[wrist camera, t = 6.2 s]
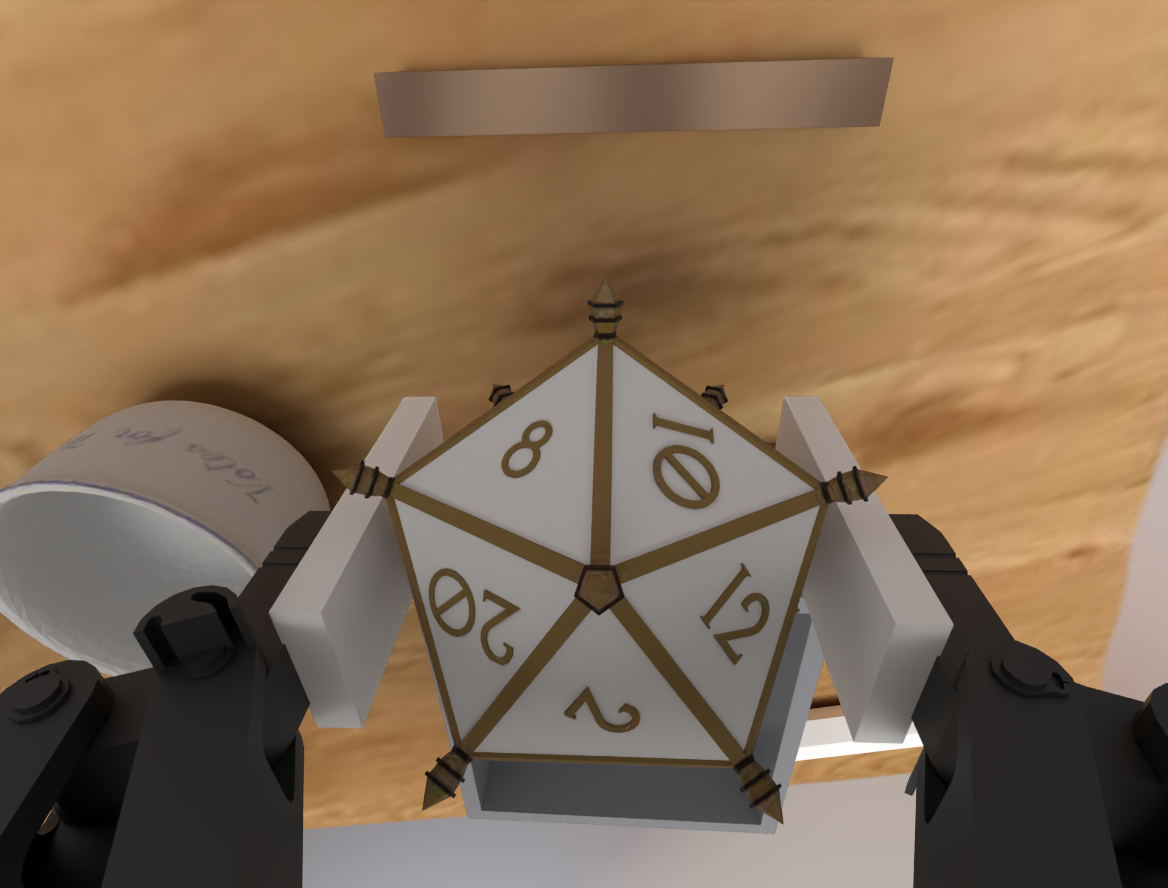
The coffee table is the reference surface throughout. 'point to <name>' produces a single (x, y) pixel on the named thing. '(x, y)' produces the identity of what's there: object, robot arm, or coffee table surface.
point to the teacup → (143, 523)
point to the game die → (607, 569)
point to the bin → (657, 769)
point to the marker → (840, 736)
